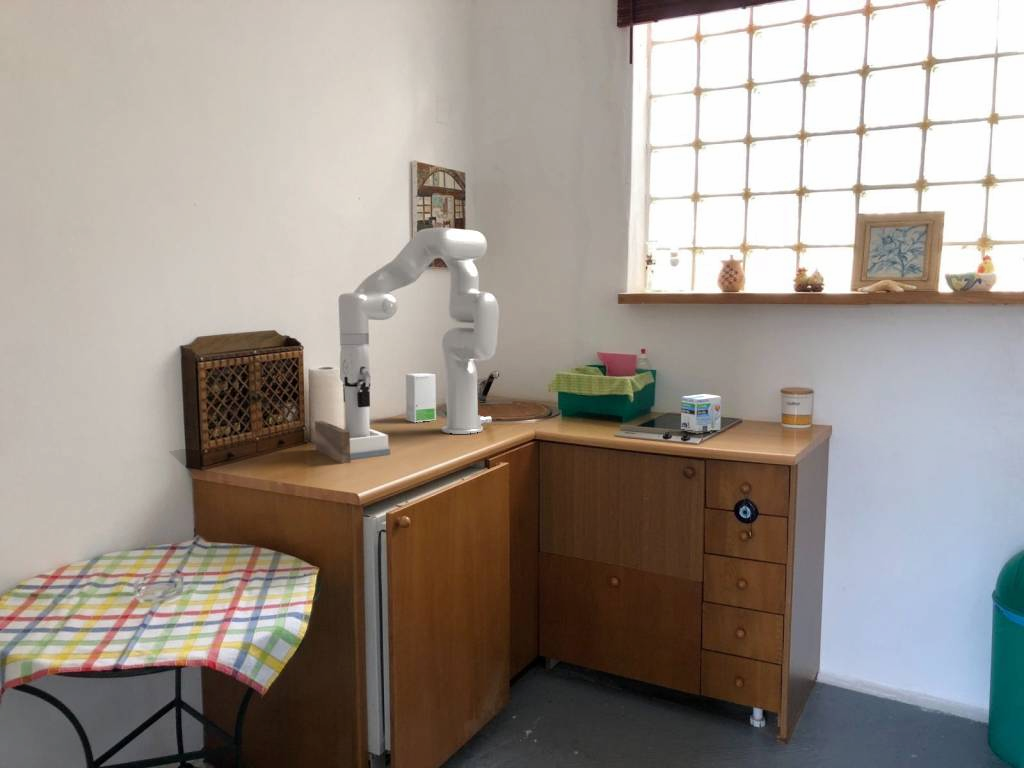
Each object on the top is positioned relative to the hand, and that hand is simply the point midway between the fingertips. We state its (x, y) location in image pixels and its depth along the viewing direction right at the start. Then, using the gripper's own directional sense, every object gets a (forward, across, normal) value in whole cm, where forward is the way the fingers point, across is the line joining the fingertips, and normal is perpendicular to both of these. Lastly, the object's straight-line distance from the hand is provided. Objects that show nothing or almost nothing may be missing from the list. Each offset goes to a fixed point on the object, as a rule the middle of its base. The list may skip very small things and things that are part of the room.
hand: (356, 404), depth 211 cm
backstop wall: (+13, 0, -7) cm, 15 cm away
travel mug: (+12, 0, 0) cm, 12 cm away
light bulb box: (+14, +30, +98) cm, 103 cm away
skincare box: (+14, -36, +37) cm, 53 cm away
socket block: (+13, 0, 0) cm, 13 cm away
